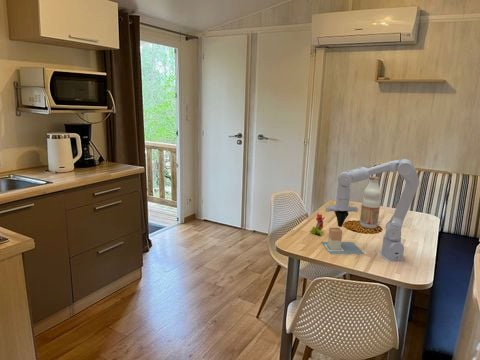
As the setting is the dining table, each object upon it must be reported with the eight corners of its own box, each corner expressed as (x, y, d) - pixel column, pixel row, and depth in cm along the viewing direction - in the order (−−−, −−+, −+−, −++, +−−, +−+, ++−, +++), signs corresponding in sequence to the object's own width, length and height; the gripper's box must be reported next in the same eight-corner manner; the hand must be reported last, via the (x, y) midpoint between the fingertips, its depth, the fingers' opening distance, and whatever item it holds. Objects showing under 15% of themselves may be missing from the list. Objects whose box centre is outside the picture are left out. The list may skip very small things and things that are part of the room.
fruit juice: (358, 227, 199) (364, 177, 193) (360, 222, 207) (366, 174, 201) (376, 230, 195) (383, 179, 189) (377, 224, 204) (383, 176, 198)
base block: (340, 249, 165) (341, 240, 164) (330, 249, 165) (331, 240, 164) (336, 245, 170) (337, 236, 169) (327, 245, 169) (328, 236, 168)
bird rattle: (312, 235, 189) (308, 233, 181) (316, 214, 191) (312, 212, 183) (324, 237, 187) (320, 236, 179) (328, 216, 188) (325, 214, 180)
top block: (341, 240, 164) (342, 231, 163) (331, 240, 164) (332, 231, 163) (337, 236, 169) (338, 227, 168) (328, 236, 168) (329, 227, 167)
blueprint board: (364, 255, 162) (365, 254, 161) (330, 255, 160) (330, 253, 160) (352, 243, 175) (353, 241, 175) (320, 243, 174) (321, 241, 174)
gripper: (354, 196, 169) (351, 223, 172) (324, 195, 168) (322, 223, 171) (360, 200, 162) (357, 228, 165) (329, 199, 161) (327, 228, 164)
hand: (339, 226), depth 168 cm, fingers closed
